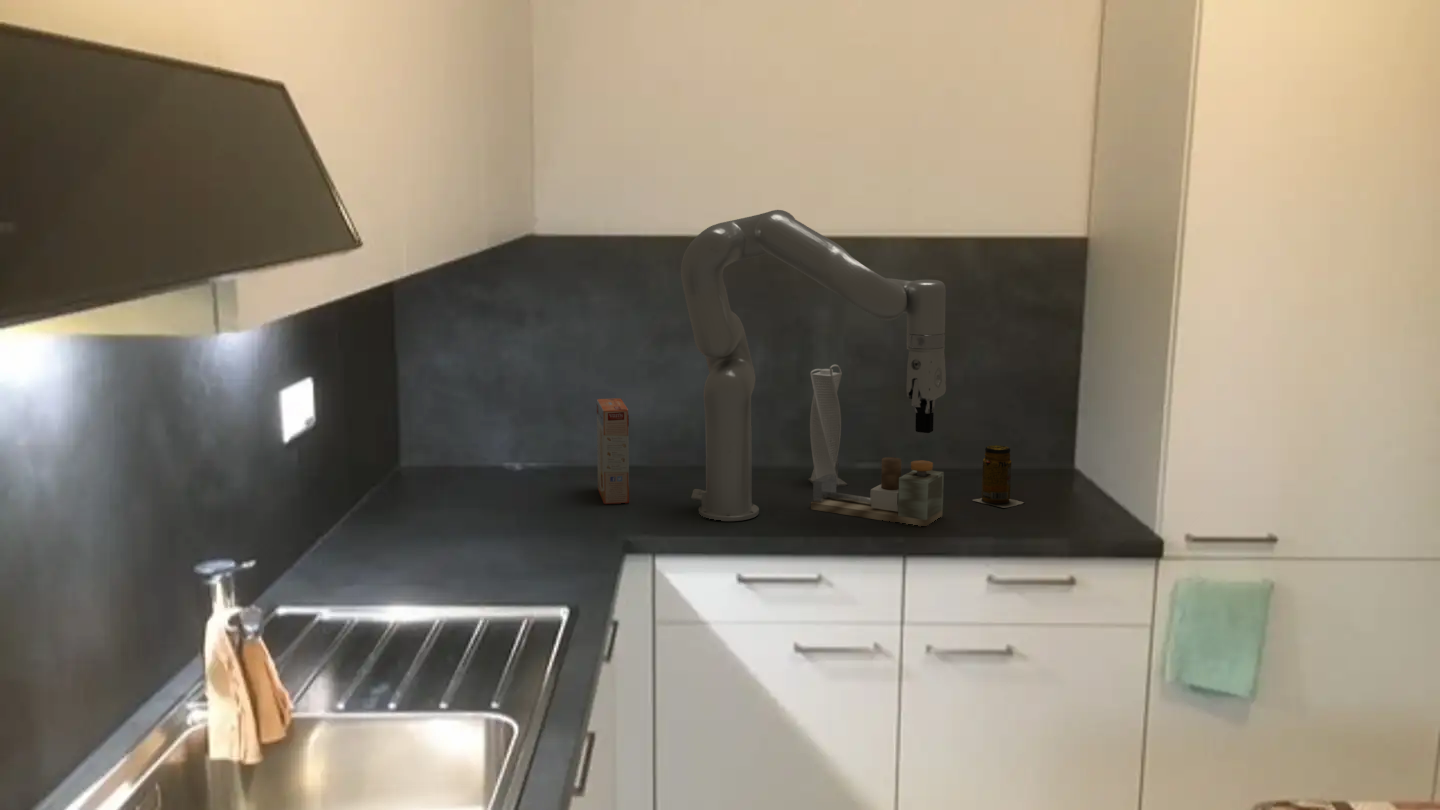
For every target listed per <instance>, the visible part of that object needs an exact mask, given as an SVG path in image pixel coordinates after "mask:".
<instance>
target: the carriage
mask: <svg viewBox="0 0 1440 810" xmlns="http://www.w3.org/2000/svg"><path fill="white" fill-rule="evenodd" d="M901 476H902V459H901V458H900V457H891V456H887V457H886V456H885V457H883V458H881V480H880V483H881V484H879V485H877V486H875V487H873V488H871V489H870V501H871V508H877V509H883V510H890V511H896V512H898V501H899V477H901Z"/></svg>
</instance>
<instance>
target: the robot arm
mask: <svg viewBox="0 0 1440 810" xmlns="http://www.w3.org/2000/svg"><path fill="white" fill-rule="evenodd" d="M764 255H771V256H773V257H774V258H776V259H778V260H779V261H781V262H783V263H785V264H787V265H788V266H790V267H792V269H795V270H797V271H799V272H800V273H801V274H804V275H805V276H807V277H808V278H810V279H812V281H813V280H814V281H815V282H817V283H818V284H819V285H820V286H822V287H824V288H826V289H828V290H830V291H832V292H833V293H835V294H836V295H838V296H840V297H841V298H843V299H844V300H845V301H848V302H849V303H851V304H852V305H854V306H856V307H857V308H858V309H861V310H863V311H865V312H867V313H868V314H870V315H871V316H873V317H875V318H877V319H879V320H882V321H893V320H897V319H898V318H899V317H901V316H902V315H903V314H906V350H908V357H907V358H908V359H907V368H906V369H907V370H906V397H907V399H909V400H911V407H913V408H914V413H915V432H917V433H923V434H930V433H932V432H934V416H935V415H934V412H935V407H936V406H935V405H936V401H937V399H938V398H940V397H942V396H944V395H945V393H946V391H947V379H946V378H947V376H946V375H947V374H946V373H947V372H946V369H947V368H946V356H945V350H946V349H945V347H946V345H945V342H946V341H945V340H946V334H945V333H946V301H947V300H946V297H947V296H946V294H947V292H946V288H947V287H946V285H945V283H944V282H943V281H941V280H938V279H915V280H906V279H899V278H898V279H897V278H891V277H890V278H889V277H888V278H887V277H884V276H882V275H880V274H878V273H876V271H874V270H872V269H870V268H869V267H867V266H865V265H864V264H862V262H859V261H858V260H857V259H856V258H854V257H853V256H852V255H850V253H848V252H847V250H846V249H845V248H844V247H842V246H841V245H840V244H839V243H837V242H835V241H834V240H832V239H830V238H828V237H826V236H824V235H822V234H821V233H819V232H818V231H816V230H814V229H812V228H811V227H809V226H808V225H806V224H804V223H802V222H801V221H799V220H797V219H796V218H795V217H794V216H793V215H792V214H791V213H790V212H788V211H785V210H784V209H774V210H770V211H767V212H763V213H759V214H755V215H751V216H746V217H742V218H736V219H733V220H728V221H724V222H719V223H716V224H712V225H710V226H708V227H707V228H705V229H704V230H702V231H701V232H700V233H699V234H698V235H697V236H696V237H695V238H694V239H693V240H692V241H691V242H690V243H689V245H688V246H687V248H686V249H685V251H684V253H683V257H682V260H681V265H680V266H681V267H680V276H681V277H680V278H681V284H682V289H683V294H684V297H685V302H686V308H687V311H688V315H689V321H690V324H691V329H692V333H693V334H692V335H693V338H694V339H693V340H694V343H695V346H696V348H697V350H698V352H700V353H701V354H702V355H703V356H704V357H705V361H706V365H707V368H708V372H709V374H708V375H707V377H706V380H705V382H704V388H703V406H704V424H705V431H704V432H705V490H703V489H699V488H694V489H693V490H692V494H691V496H690V497H691V498H690V499H691V500H692V501H700V503H701V505H700V506H699V507H698V515H699V514H700V515H701V517H702V516H703V517H702V518H704V517H706V518H709V519H708V520H710V519H714V520H713V521H716V520H721V521H720V522H740V521H747V520H750V519H753V518H755V517H757V516H758V515H759V514H760V508H759V506H758V505H756V504H754V503H753V502H752V496H753V495H752V491H753V490H752V488H753V487H752V483H753V482H752V481H753V480H752V476H753V475H752V469H753V468H752V465H753V463H752V459H753V458H752V457H753V456H752V451H753V450H752V445H753V444H752V443H753V442H752V394H753V392H754V390H755V386H756V372H755V368H754V364H753V360H752V356H751V351H750V348H749V343H748V338H747V336H746V335H747V334H746V331H745V328H744V325H743V323H742V321H741V319H740V317H739V316H738V315H737V314H736V312H733V311H732V309H731V306H730V301H729V297H728V291H727V287H726V284H725V281H724V275H723V274H724V269H725V268H726V267H728V266H729V265H731V264H733V263H735V262H738V261H742V260H747V259H751V258H756V257H761V256H764ZM700 515H699V516H700ZM706 518H705V519H706Z"/></svg>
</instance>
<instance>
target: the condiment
mask: <svg viewBox="0 0 1440 810" xmlns="http://www.w3.org/2000/svg"><path fill="white" fill-rule="evenodd" d="M984 452H985V453H984V458H983V461H982V472H981V473H982V476H981V497H980V498H974V499H972V501H973V502H977V503H981V504H985V505H990V506H994V507H998V508H1010V507H1011V508H1012V507H1015V506H1016V507H1017V506H1018V505H1022V504H1024V503H1025V502H1023V501H1019V500H1017V499H1013V498H1011V485H1012V484H1011V483H1012V482H1011V480H1012V460H1011V448H1010V447H1008V446H1006V445H999V444H993V445H991V444H990V445H988V446H986V447H985V450H984Z"/></svg>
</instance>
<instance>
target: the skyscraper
mask: <svg viewBox="0 0 1440 810" xmlns="http://www.w3.org/2000/svg"><path fill="white" fill-rule="evenodd" d="M834 367H836V368H838V370H839V371H838V372H836V371H835V372H834V369H832V368H834ZM809 375H810V379H811V384H812V385H811V386H812V390H813V395H812V401H811V406H810V417H809V419H810V420H809V435H810V437H809V438H810V439H809V440H810V448H811V456H812V462H813V470H812V473H811V476H810V477H809V478H808V480H807V481H809V482H810V483H811V484H813V481H814V480H816V479H818V478H820V477H823V476H825V475H827V474H833V475H837V478H836V487H845V486H846V487H847V486H848V483H847V482H845V481H844V480H842V479H841V478H840V477H839V466H840V465H839V463H840V462H839V450H840V443H841V434H842V412H841V405H840V400H839V396H838V391H839V388H840V384H841V379H842V375H843V372H842V368H841V367H840V366H839V365H838V364H832V365H831V366H829V368H815V369H812V370H811V371H810V374H809Z"/></svg>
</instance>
